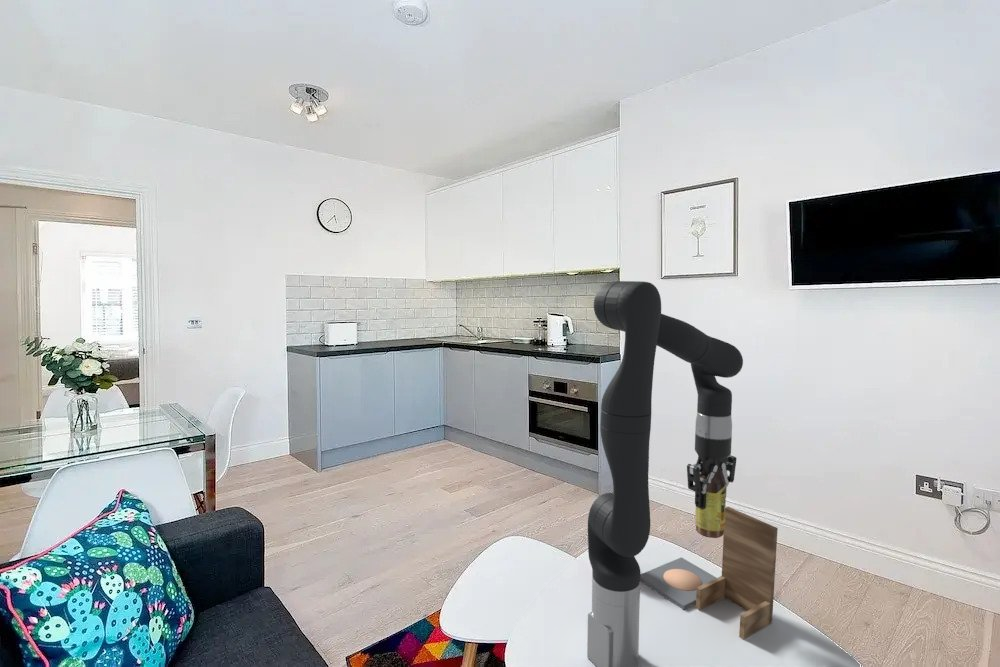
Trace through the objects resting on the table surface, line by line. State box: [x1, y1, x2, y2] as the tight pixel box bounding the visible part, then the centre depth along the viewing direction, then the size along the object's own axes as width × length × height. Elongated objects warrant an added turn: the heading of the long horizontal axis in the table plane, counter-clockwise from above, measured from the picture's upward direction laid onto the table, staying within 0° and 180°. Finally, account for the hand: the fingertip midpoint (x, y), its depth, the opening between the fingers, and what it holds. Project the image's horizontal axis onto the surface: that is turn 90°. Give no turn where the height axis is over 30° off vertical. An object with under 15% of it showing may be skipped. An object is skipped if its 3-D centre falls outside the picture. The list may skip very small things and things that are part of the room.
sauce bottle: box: [694, 458, 727, 539], centre depth 115 cm, size 7×6×20 cm
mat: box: [640, 557, 717, 610], centre depth 126 cm, size 16×14×1 cm
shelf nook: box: [695, 506, 779, 640], centre depth 113 cm, size 10×12×22 cm
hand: (710, 504), depth 115 cm, fingers closed on sauce bottle, 6 cm apart
